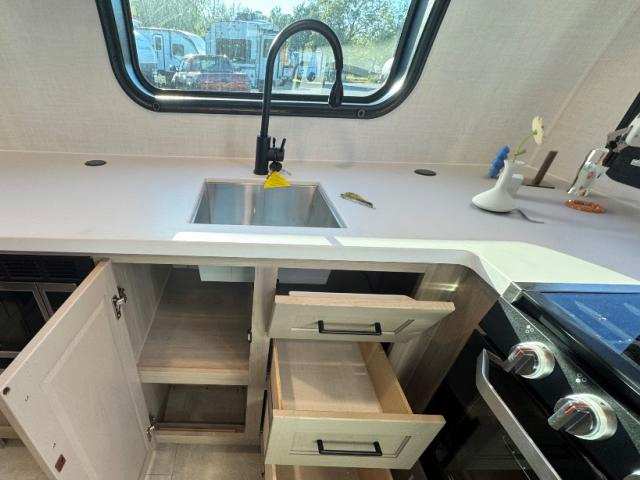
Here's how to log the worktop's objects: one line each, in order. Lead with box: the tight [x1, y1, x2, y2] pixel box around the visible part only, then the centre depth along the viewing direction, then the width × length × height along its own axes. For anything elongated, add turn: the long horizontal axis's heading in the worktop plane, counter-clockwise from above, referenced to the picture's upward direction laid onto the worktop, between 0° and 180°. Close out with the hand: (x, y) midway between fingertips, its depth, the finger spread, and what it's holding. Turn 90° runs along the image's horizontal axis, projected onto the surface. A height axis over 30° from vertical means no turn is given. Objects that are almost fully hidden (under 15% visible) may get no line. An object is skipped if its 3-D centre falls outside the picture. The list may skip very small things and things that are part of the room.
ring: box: [563, 199, 607, 214], centre depth 98 cm, size 10×10×2 cm
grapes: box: [488, 145, 511, 178], centre depth 124 cm, size 12×7×12 cm, turn 134°
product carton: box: [494, 171, 525, 199], centre depth 105 cm, size 6×6×7 cm
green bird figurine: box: [339, 191, 374, 209], centre depth 101 cm, size 4×13×2 cm, turn 32°
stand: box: [520, 149, 559, 190], centre depth 116 cm, size 9×9×12 cm
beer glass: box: [565, 147, 620, 197], centre depth 106 cm, size 7×7×15 cm
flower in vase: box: [471, 115, 547, 213], centre depth 91 cm, size 13×11×25 cm
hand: (626, 168), depth 90 cm, fingers open, 9 cm apart
